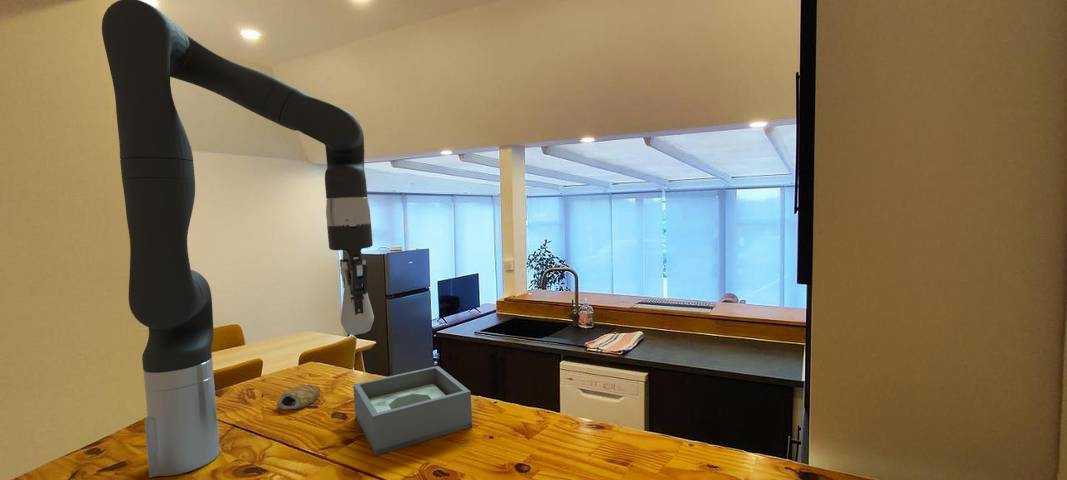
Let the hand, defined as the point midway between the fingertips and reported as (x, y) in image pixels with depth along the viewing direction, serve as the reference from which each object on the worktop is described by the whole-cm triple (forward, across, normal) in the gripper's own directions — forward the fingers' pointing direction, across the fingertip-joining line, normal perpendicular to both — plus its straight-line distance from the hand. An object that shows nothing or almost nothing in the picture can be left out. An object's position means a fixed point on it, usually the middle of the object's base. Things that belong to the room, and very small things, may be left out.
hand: (357, 314), depth 85 cm
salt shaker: (+3, 0, 0) cm, 3 cm away
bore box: (+23, +1, +8) cm, 24 cm away
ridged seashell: (+23, -24, -10) cm, 35 cm away
